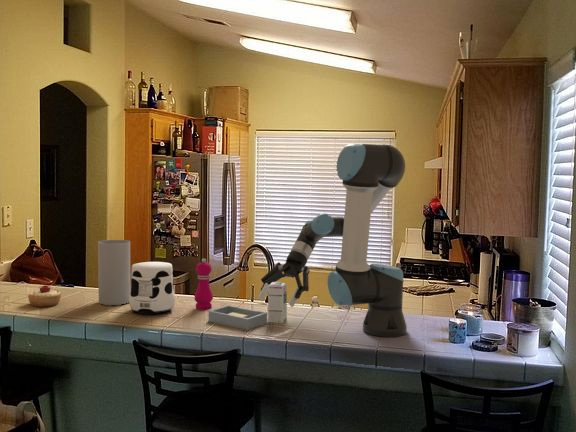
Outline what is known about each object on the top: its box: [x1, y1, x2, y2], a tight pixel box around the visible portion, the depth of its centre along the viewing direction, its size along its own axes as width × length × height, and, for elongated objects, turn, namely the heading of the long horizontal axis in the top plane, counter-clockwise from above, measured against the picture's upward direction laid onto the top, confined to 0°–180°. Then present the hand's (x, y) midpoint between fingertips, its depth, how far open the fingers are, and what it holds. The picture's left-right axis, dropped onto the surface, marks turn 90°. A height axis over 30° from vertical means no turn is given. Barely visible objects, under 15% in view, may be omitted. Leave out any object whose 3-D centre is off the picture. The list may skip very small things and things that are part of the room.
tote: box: [208, 304, 268, 331], centre depth 211 cm, size 18×11×4 cm, turn 56°
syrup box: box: [267, 281, 288, 324], centre depth 213 cm, size 6×6×14 cm
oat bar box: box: [229, 312, 248, 318], centre depth 211 cm, size 7×4×2 cm, turn 56°
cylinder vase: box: [97, 239, 131, 306], centre depth 239 cm, size 12×12×25 cm
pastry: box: [27, 283, 62, 308], centre depth 235 cm, size 12×12×9 cm
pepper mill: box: [194, 258, 214, 311], centre depth 232 cm, size 7×7×20 cm
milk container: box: [128, 261, 176, 315], centre depth 227 cm, size 17×17×18 cm
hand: (275, 302), depth 213 cm, fingers open, 13 cm apart
